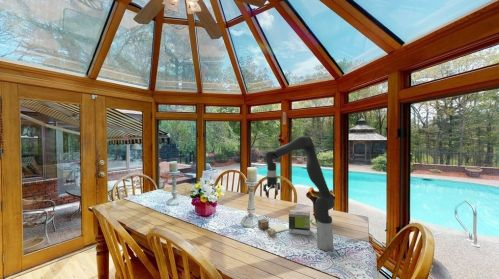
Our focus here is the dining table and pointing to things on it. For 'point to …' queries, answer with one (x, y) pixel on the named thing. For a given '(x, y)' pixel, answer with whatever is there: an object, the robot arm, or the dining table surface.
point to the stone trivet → (279, 227)
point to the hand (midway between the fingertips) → (271, 195)
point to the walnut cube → (263, 224)
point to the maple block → (271, 232)
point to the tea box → (299, 222)
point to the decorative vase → (313, 196)
